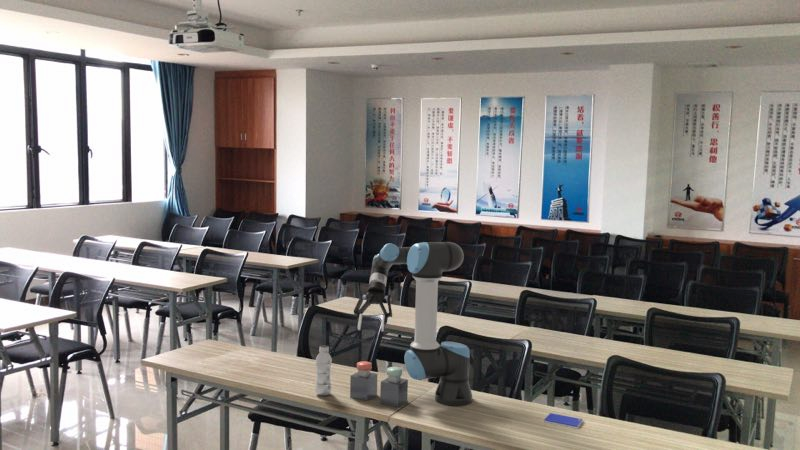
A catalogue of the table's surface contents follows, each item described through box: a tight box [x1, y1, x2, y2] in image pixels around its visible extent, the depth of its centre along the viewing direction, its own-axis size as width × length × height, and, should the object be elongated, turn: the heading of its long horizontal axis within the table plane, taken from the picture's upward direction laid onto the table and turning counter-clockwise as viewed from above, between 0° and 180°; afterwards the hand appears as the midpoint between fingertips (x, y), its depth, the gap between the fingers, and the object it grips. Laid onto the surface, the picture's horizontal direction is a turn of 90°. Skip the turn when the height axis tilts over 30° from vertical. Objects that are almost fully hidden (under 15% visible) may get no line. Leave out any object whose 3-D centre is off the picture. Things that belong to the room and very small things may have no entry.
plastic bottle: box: [315, 345, 333, 396], centre depth 280 cm, size 6×7×20 cm
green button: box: [386, 366, 403, 383], centre depth 273 cm, size 6×6×10 cm
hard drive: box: [543, 412, 584, 429], centre depth 259 cm, size 2×8×12 cm
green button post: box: [379, 377, 409, 408], centre depth 274 cm, size 8×8×9 cm
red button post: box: [349, 371, 378, 402], centre depth 280 cm, size 8×8×9 cm
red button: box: [356, 360, 373, 377], centre depth 280 cm, size 6×6×10 cm
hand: (370, 329), depth 291 cm, fingers open, 9 cm apart
